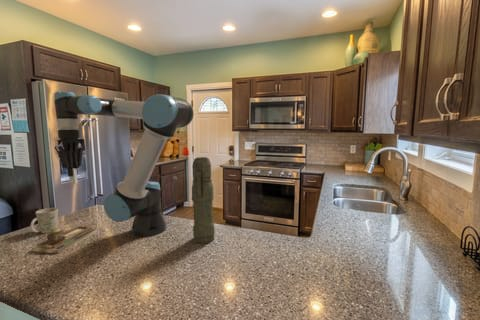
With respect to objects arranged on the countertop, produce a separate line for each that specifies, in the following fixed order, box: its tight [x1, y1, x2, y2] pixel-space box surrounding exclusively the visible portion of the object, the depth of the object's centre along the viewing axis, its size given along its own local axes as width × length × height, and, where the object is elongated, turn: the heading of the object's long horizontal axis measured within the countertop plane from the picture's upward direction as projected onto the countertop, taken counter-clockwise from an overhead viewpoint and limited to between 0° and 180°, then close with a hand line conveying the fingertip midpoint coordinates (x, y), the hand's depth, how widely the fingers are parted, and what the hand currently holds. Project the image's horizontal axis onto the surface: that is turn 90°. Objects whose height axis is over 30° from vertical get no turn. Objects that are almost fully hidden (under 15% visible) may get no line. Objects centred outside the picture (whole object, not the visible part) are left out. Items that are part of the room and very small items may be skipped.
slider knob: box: [46, 227, 68, 245], centre depth 99 cm, size 7×4×6 cm, turn 80°
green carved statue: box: [191, 156, 216, 245], centre depth 102 cm, size 9×12×35 cm
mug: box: [29, 207, 59, 234], centre depth 113 cm, size 8×13×10 cm, turn 174°
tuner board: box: [31, 225, 98, 254], centre depth 105 cm, size 12×20×2 cm, turn 170°
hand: (73, 183), depth 108 cm, fingers closed
